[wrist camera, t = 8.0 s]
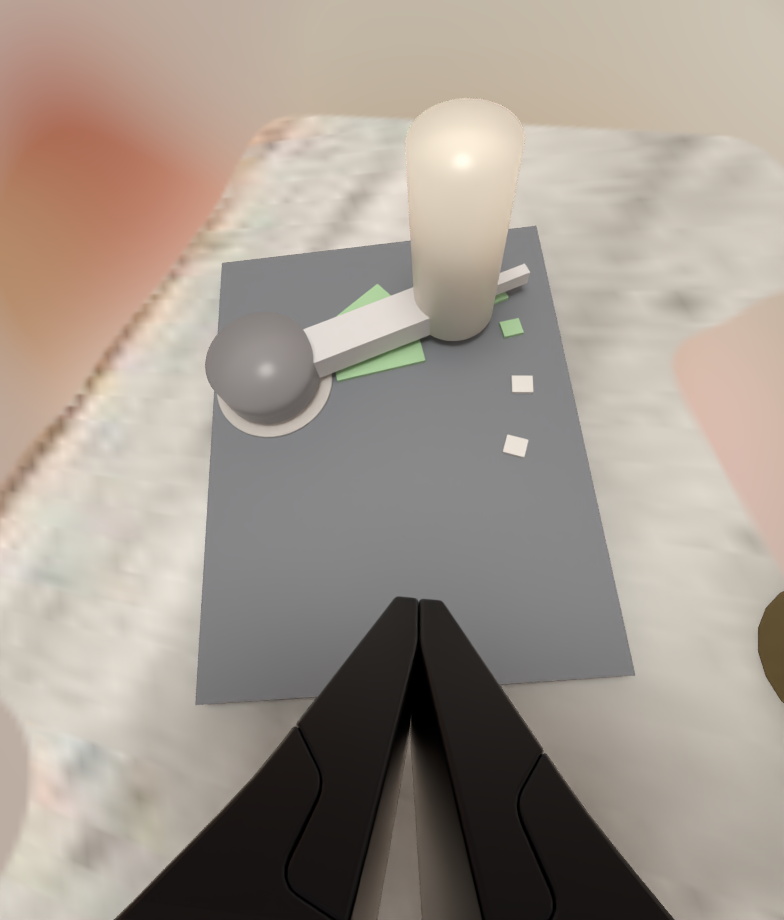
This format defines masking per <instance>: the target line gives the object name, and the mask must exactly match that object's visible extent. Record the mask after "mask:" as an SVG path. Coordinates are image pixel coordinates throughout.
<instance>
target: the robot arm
mask: <svg viewBox="0 0 784 920" xmlns="http://www.w3.org/2000/svg"><path fill="white" fill-rule="evenodd" d="M410 720H411V728H410ZM409 729H410V735H411V756H412V771H413V787H414V802H415V818H416V833H417V849H418V864H419V879H420V895H421V910H422V920H674V919H673V917H672V916H671V915H670V914H669V913H668V911H667V910H666V909H665V908H664V906H663V905H662V904H661V903H660V902H659V900H658V899H657V898H656V897H655V895H654V894H653V893H652V892H651V891H650V889H649V888H648V887H647V886H646V885H645V883H644V882H643V881H642V880H641V878H640V877H639V876H638V875H637V874H636V872H635V871H634V870H633V869H632V868H631V866H630V865H629V864H628V863H627V861H626V860H625V859H624V858H623V857H622V855H621V854H620V853H619V851H618V850H617V849H616V848H615V846H614V845H613V844H612V843H611V841H610V840H609V839H608V838H607V836H606V835H605V834H604V832H603V831H602V830H601V829H600V827H599V826H598V825H597V824H596V822H595V821H594V820H593V819H592V817H591V816H590V815H589V813H588V812H587V811H586V809H585V808H584V806H583V805H582V804H581V802H580V801H579V800H578V798H577V797H576V795H575V794H574V793H573V791H572V790H571V788H570V787H569V786H568V784H567V783H566V781H565V780H564V779H563V777H562V776H561V774H560V773H559V771H558V770H557V768H556V767H555V765H554V764H553V762H552V761H551V759H550V758H549V756H548V755H547V754H543V752H544V750H543V748H542V747H541V745H540V744H539V742H538V741H537V739H536V738H535V736H534V735H533V733H532V732H531V730H530V729H529V727H528V726H527V724H526V723H525V722H524V720H523V719H522V717H521V716H520V714H519V713H518V711H517V710H516V708H515V707H514V705H513V704H512V702H511V701H510V699H509V698H508V696H507V695H506V694H505V692H504V691H503V689H502V688H501V686H500V685H499V683H498V682H497V680H496V679H495V677H494V676H493V674H492V673H491V671H490V670H489V669H488V667H487V666H486V664H485V663H484V661H483V660H482V658H481V657H480V655H479V654H478V652H477V651H476V649H475V648H474V646H473V645H472V644H471V642H470V641H469V639H468V638H467V636H466V635H465V633H464V632H463V630H462V629H461V627H460V626H459V624H458V623H457V621H456V620H455V618H454V617H453V616H452V614H451V613H450V611H449V610H448V608H447V607H446V605H445V604H444V602H442V601H441V600H434V599H420V601H419V602H418V599H416V598H412V597H402V596H397V597H395V598H394V599H393V600H392V602H391V603H390V604H389V605H388V607H387V608H386V609H385V611H384V612H383V613H382V614H381V616H380V617H379V618H378V620H377V621H376V622H375V623H374V625H373V626H372V627H371V628H370V630H369V631H368V632H367V634H366V635H365V636H364V637H363V639H362V640H361V641H360V643H359V644H358V645H357V646H356V648H355V649H354V650H353V652H352V653H351V654H350V655H349V657H348V658H347V659H346V661H345V662H344V663H343V664H342V666H341V667H340V668H339V670H338V671H337V672H336V673H335V675H334V676H333V677H332V679H331V680H330V681H329V682H328V684H327V685H326V686H325V688H324V689H323V690H322V691H321V693H320V694H319V695H318V696H317V698H316V699H315V700H314V702H313V703H312V704H311V705H310V707H309V708H308V709H307V711H306V712H305V713H304V714H303V716H302V717H301V718H300V720H299V721H298V722H297V724H296V727H293V728H292V729H291V731H290V732H289V733H288V735H287V736H286V737H285V738H284V740H283V741H282V742H281V744H280V745H279V746H278V747H277V749H276V750H275V751H274V752H273V753H272V755H271V756H270V757H269V758H268V759H267V761H266V762H265V763H264V764H263V765H262V767H261V768H260V769H259V770H258V771H257V773H256V774H255V775H254V776H253V777H252V779H251V780H250V781H249V782H248V783H247V784H246V785H245V786H244V787H243V788H242V789H241V790H240V791H239V792H238V794H237V795H236V796H235V797H234V798H233V799H232V800H231V801H230V802H229V803H228V804H227V805H226V806H225V807H224V808H223V810H222V811H221V812H220V813H219V814H218V815H217V816H216V817H215V818H214V819H213V820H212V821H211V822H210V823H209V824H208V825H207V826H206V827H205V828H204V829H203V830H202V831H201V832H200V833H199V834H198V835H197V836H196V837H195V838H194V839H193V840H192V841H191V842H190V843H189V844H188V845H187V846H186V847H185V848H184V849H183V851H182V852H181V853H180V854H179V855H178V856H177V857H176V858H175V859H174V860H173V861H172V862H171V863H170V864H169V865H168V866H167V867H166V868H165V869H164V870H163V871H162V872H161V873H160V874H159V875H158V876H157V877H156V878H155V879H154V880H153V881H152V882H151V883H150V884H149V885H148V886H147V887H146V888H145V889H144V890H143V891H142V892H141V893H140V894H139V895H138V896H137V898H136V899H135V900H134V901H133V902H132V903H131V904H130V905H129V906H128V907H127V908H125V909H124V910H123V911H122V912H121V913H120V914H119V915H118V916H117V917H116V918H115V919H114V920H377V917H378V912H379V906H380V900H381V894H382V889H383V883H384V877H385V871H386V866H387V860H388V854H389V848H390V843H391V837H392V831H393V825H394V820H395V814H396V808H397V802H398V797H399V791H400V785H401V779H402V773H403V768H404V762H405V756H406V750H407V744H408V737H409Z"/></svg>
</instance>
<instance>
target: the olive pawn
mask: <svg viewBox="0 0 784 920" xmlns="http://www.w3.org/2000/svg"><path fill="white" fill-rule="evenodd" d="M758 652H759V655H760V658H761V662H762V665H763V668H764V671H765V675H766V677H767V679H768V680H769V682H770V683H771V685H772V687H773V688H774V690H775V691H776V693H777V695H778V696H779V698H780V699H781V701H782V702H783V703H784V592H781V593H780V594H779V595H778V596H777V597H776V598H775V599H774V600H773V601H772V602H771V603H770V604H769V605H768V607H767V608H766V610H765V612H764V615H763V618H762V620H761V623H760V625H759V632H758Z"/></svg>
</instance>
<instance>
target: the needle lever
mask: <svg viewBox="0 0 784 920" xmlns="http://www.w3.org/2000/svg"><path fill="white" fill-rule="evenodd" d="M524 144H525V133H524V129H523V127H522V124H521V123H520V121H519V119H518V118H517V117H516V116H515V115H514V114H513V113H512V112H511V111H510V110H508V109H507V108H505V107H503V106H501V105H500V104H497V103H494V102H491V101H488V100H484V99H478V98H461V99H453V100H448V101H445V102H442V103H439V104H437V105H434V106H432V107H430V108H429V109H427V110H426V111H424V112H423V113H421V114H420V115H419V116H418V117H417V118H416V119H415V120H414V121H413V123H412V124H411V126H410V127H409V129H408V132H407V135H406V139H405V152H406V169H407V186H408V203H409V221H410V238H411V255H412V272H413V287H412V288H410V289H407V290H405V291H402V292H399V293H397V294H394V295H392V296H389V297H386V298H384V299H381V300H378V301H376V302H373V303H371V304H368V305H365V306H363V307H360V308H358V309H355V310H352V311H350V312H347V313H345V314H342V315H339V316H337V317H334V318H332V319H329V320H326V321H324V322H321V323H319V324H316V325H313V326H311V327H308V328H306V329H302V327H301V326H300V325H299V324H298V323H296V322H295V321H294V320H292V319H291V318H289V317H287V316H284V315H282V314H278V313H272V312H258V313H253V314H249V315H245V316H243V317H240V318H238V319H236V320H234V321H233V322H231V323H230V324H228V325H227V326H226V327H224V328H223V329H222V330H221V331H220V332H219V333H218V335H217V336H216V337H215V338H214V340H213V341H212V343H211V345H210V347H209V350H208V352H207V356H206V363H205V368H206V375H207V379H208V381H209V383H210V385H211V387H212V388H213V390H214V391H215V392H216V393H217V394H218V395H219V396H220V397H221V398H222V399H223V401H224V402H225V403H226V404H227V405H228V406H229V407H230V408H231V409H232V410H233V411H234V412H235V413H236V414H237V415H239V416H240V417H242V418H243V419H246V420H248V421H251V422H254V423H260V424H270V423H277V422H281V421H284V420H287V419H289V418H291V417H293V416H295V415H296V414H298V413H299V412H300V411H302V410H303V409H304V408H305V407H306V406H307V405H308V404H309V403H310V401H311V400H312V398H313V397H314V395H315V393H316V391H317V389H318V385H319V381H320V378H321V377H323V376H326V375H329V374H331V373H334V372H336V371H339V370H341V369H344V368H346V367H349V366H352V365H354V364H357V363H359V362H362V361H364V360H367V359H369V358H372V357H375V356H377V355H380V354H382V353H385V352H387V351H390V350H393V349H395V348H398V347H400V346H403V345H405V344H408V343H410V342H413V341H416V340H418V339H421V338H423V337H426V336H428V335H431V336H433V337H435V338H438V339H441V340H446V341H460V340H465V339H468V338H471V337H473V336H475V335H477V334H478V333H480V332H481V331H482V330H483V329H484V328H485V327H486V326H487V324H488V323H489V321H490V319H491V316H492V312H493V306H494V301H495V296H496V295H498V294H501V293H503V292H506V291H508V290H511V289H513V288H516V287H519V286H521V285H524V284H526V283H527V282H528V279H529V275H530V271H529V270H528V268H527V266H526V265H525V264H522V265H520V266H517V267H514V268H512V269H509V270H507V271H504V272H501V273H500V270H501V265H502V259H503V254H504V249H505V244H506V239H507V233H508V228H509V223H510V218H511V212H512V207H513V202H514V197H515V192H516V186H517V181H518V176H519V171H520V165H521V160H522V155H523V150H524Z"/></svg>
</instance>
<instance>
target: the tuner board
mask: <svg viewBox="0 0 784 920" xmlns="http://www.w3.org/2000/svg"><path fill="white" fill-rule="evenodd" d="M522 264H525V265H526V266H527V268H528V270H529V271H530V275H529V279H528V282H527V283H526V284H524V285H521V286H519V287H516V288H513V289H511V290H508V291H506V292H503V293H501V294H498V295H496V296H495V301H494V306H493V312H492V316H491V319H490V321H489V323H488V324H487V326H486V327H485V328H484V329H483V330H482V331H481V332H480V333H478V334H477V335H475V336H473V337H471V338H468V339H465V340H460V341H446V340H441V339H438V338H435V337H433V336H431V335H428V336H426V337H423V338H421V339H418V340H416V341H413V342H410V343H408V344H405V345H403V346H400V347H398V348H395V349H393V350H390V351H387V352H385V353H382V354H380V355H377V356H375V357H372V358H369V359H367V360H364V361H362V362H359V363H357V364H354V365H352V366H349V367H346V368H344V369H341V370H339V371H336V372H334V373H331V374H329V375H326V376H323V377H321V378H320V381H319V385H318V389H317V391H316V393H315V395H314V397H313V398H312V400H311V401H310V403H309V404H308V405H307V406H306V407H305V408H304V409H303V410H302V411H300V412H299V413H298V414H296V415H295V416H293V417H291V418H289V419H287V420H284V421H281V422H277V423H270V424H260V423H254V422H251V421H248V420H246V419H243V418H242V417H240V416H239V415H237V414H236V413H235V412H234V411H233V410H232V409H231V408H230V407H229V406H228V405H227V404H226V403H225V402H224V401H223V399H222V398H221V397H220V396H219V395H218V394H217V393H216V392H215V391H214V405H213V421H212V438H211V455H210V471H209V488H208V504H207V521H206V538H205V554H204V571H203V587H202V604H201V621H200V637H199V654H198V670H197V687H196V704H195V705H203V704H218V703H233V702H248V701H263V700H277V699H292V698H307V697H317V696H318V695H319V694H320V693H321V691H322V690H323V689H324V688H325V686H326V685H327V684H328V682H329V681H330V680H331V679H332V677H333V676H334V675H335V673H336V672H337V671H338V670H339V668H340V667H341V666H342V664H343V663H344V662H345V661H346V659H347V658H348V657H349V655H350V654H351V653H352V652H353V650H354V649H355V648H356V646H357V645H358V644H359V643H360V641H361V640H362V639H363V637H364V636H365V635H366V634H367V632H368V631H369V630H370V628H371V627H372V626H373V625H374V623H375V622H376V621H377V620H378V618H379V617H380V616H381V614H382V613H383V612H384V611H385V609H386V608H387V607H388V605H389V604H390V603H391V602H392V600H393V599H394V598H395V597H397V596H402V597H412V598H416V599H418V602H419V601H420V599H434V600H441V601H442V602H444V604H445V605H446V607H447V608H448V610H449V611H450V613H451V614H452V616H453V617H454V618H455V620H456V621H457V623H458V624H459V626H460V627H461V629H462V630H463V632H464V633H465V635H466V636H467V638H468V639H469V641H470V642H471V644H472V645H473V646H474V648H475V649H476V651H477V652H478V654H479V655H480V657H481V658H482V660H483V661H484V663H485V664H486V666H487V667H488V669H489V670H490V671H491V673H492V674H493V676H494V677H495V679H496V680H497V682H498V683H499V685H500V684H515V683H530V682H545V681H559V680H574V679H589V678H604V677H619V676H634V675H635V672H634V667H633V663H632V658H631V654H630V649H629V645H628V640H627V635H626V631H625V626H624V622H623V617H622V613H621V608H620V604H619V599H618V595H617V590H616V586H615V581H614V576H613V572H612V567H611V563H610V558H609V554H608V549H607V545H606V540H605V536H604V531H603V527H602V522H601V517H600V513H599V508H598V504H597V499H596V495H595V490H594V486H593V481H592V477H591V472H590V468H589V463H588V458H587V454H586V449H585V445H584V440H583V436H582V431H581V427H580V422H579V418H578V413H577V409H576V404H575V399H574V395H573V390H572V386H571V381H570V377H569V372H568V368H567V363H566V359H565V354H564V350H563V345H562V341H561V336H560V331H559V327H558V322H557V318H556V313H555V309H554V304H553V300H552V295H551V291H550V286H549V282H548V277H547V272H546V268H545V263H544V259H543V254H542V250H541V245H540V241H539V236H538V232H537V227H536V226H531V227H522V228H514V229H508V233H507V239H506V244H505V249H504V254H503V259H502V265H501V270H500V273H501V272H504V271H507V270H509V269H512V268H514V267H517V266H520V265H522ZM412 287H413V272H412V255H411V241H404V242H396V243H387V244H379V245H370V246H362V247H354V248H345V249H337V250H328V251H320V252H311V253H303V254H295V255H286V256H278V257H269V258H261V259H252V260H244V261H236V262H227V263H222V272H221V289H220V305H219V322H218V333H219V332H220V331H221V330H222V329H223V328H224V327H226V326H227V325H228V324H230V323H231V322H233V321H234V320H236V319H238V318H240V317H243V316H245V315H249V314H253V313H258V312H272V313H278V314H282V315H284V316H287V317H289V318H291V319H292V320H294V321H295V322H296V323H298V324H299V325H300V326H301V327H302V329H306V328H308V327H311V326H313V325H316V324H319V323H321V322H324V321H326V320H329V319H332V318H334V317H337V316H339V315H342V314H345V313H347V312H350V311H352V310H355V309H358V308H360V307H363V306H365V305H368V304H371V303H373V302H376V301H378V300H381V299H384V298H386V297H389V296H392V295H394V294H397V293H399V292H402V291H405V290H407V289H410V288H412Z"/></svg>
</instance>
